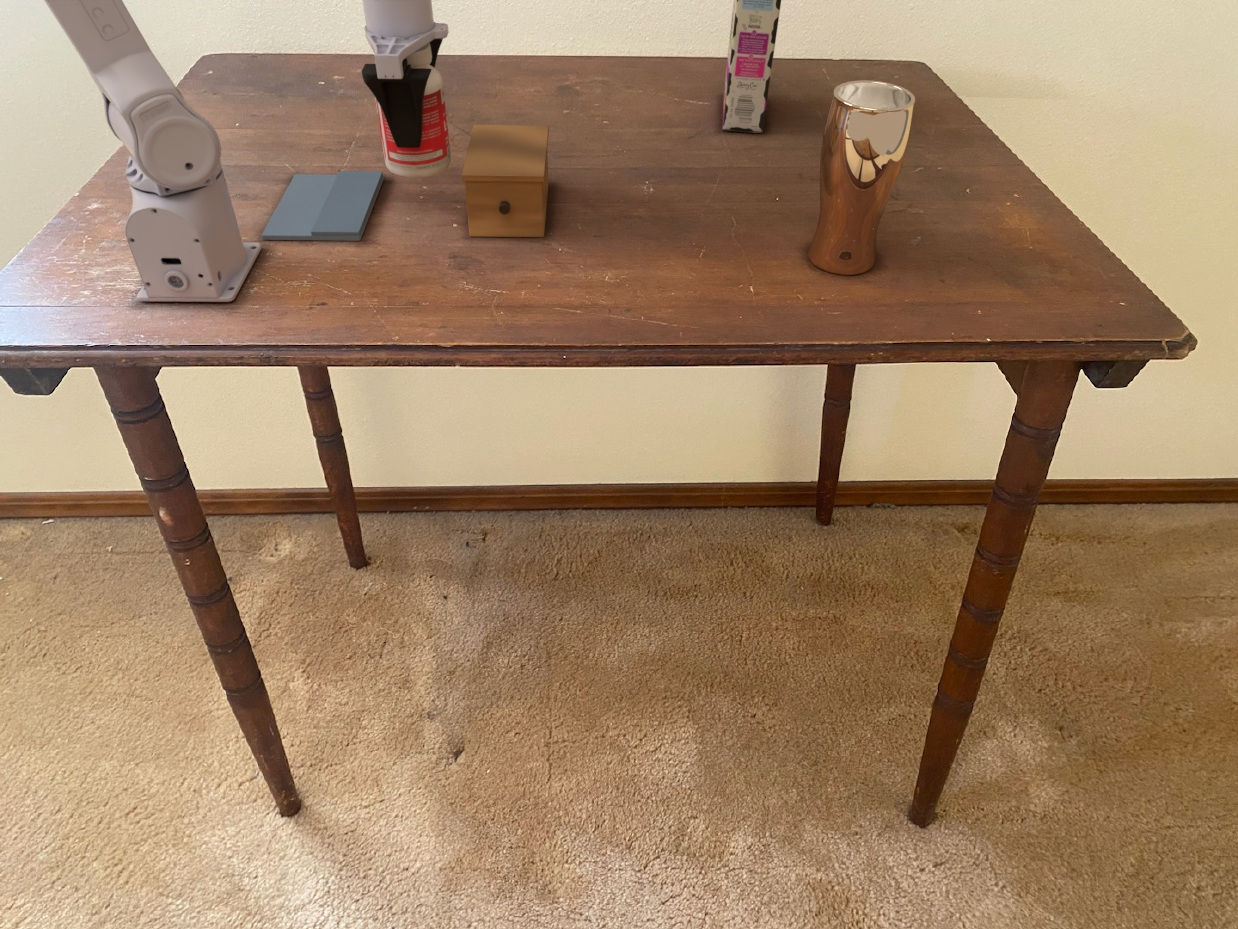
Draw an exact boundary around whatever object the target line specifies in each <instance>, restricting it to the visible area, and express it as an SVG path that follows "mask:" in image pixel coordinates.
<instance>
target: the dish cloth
mask: <svg viewBox="0 0 1238 929" xmlns="http://www.w3.org/2000/svg"><path fill="white" fill-rule="evenodd" d="M384 179H385V178H384V172H383V171H382V170H339V171H338V173H337V174H335V173H334V174H327V173H325V174H324V173H323V174H322V173H321V174H320V173H295V174H294V175H293V177H292V179H291V181H290V183H289V184H288V186H287V188H286V190H285V192H284V194H283V195H282V197H281V199H280V200H279V203H278V205H277V207H276V208H275V210H274V212H273V214H272V215H271V217H270V218H269V221H268V222H267V225H266V226H265V228H264V230H263V232H262V234H261V239H262V241H332V242H333V241H334V242H335V241H336V242H337V241H338V242H340V241H341V242H343V241H344V242H345V241H346V242H348V241H349V242H350V241H351V242H352V241H353V242H360V241H361V240H362V237H363V235H364V232H365V229H366V227H367V225H368V222H369V219H370V216H371V213H372V212H373V209H374V206H375V203H376V200H377V198H378V195H379V193H380V190H381V187H382V185H383V183H384Z"/></svg>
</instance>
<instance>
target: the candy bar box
mask: <svg viewBox="0 0 1238 929" xmlns="http://www.w3.org/2000/svg"><path fill="white" fill-rule="evenodd" d="M781 5H782V0H733V4H732V12H731V20H730V29H729V30H730V32H729V40H728V48H727V58H726V59H727V60H726V67H725V68H726V69H725V79H724V88H723V102H722V103H723V104H722V106H723V107H722V109H723V110H722V130H723V131H727V132H738V133H739V132H740V133H751V134H752V133H753V134H762V133H763V132H764V125H765V118H766V113H767V112H766V110H767V103H768V99H769V98H768V97H769V90H770V83H771V77H772V69H773V64H774V63H773V61H774V55H775V48H776V41H777V35H778V26H779V21H780V20H779V19H780V14H781V13H780V12H781Z"/></svg>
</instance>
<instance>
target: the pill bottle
mask: <svg viewBox="0 0 1238 929" xmlns="http://www.w3.org/2000/svg"><path fill="white" fill-rule="evenodd" d="M406 58H407V63H408V65H409V64H410V65H411V68H420V69H431V73H430V75H429V78H428V81H427V84H426V88H425V93H424V99H423V120H422V139H421V144H420V147H419V148H398V147H397V146H396V144H395V142H394V139H393V137H392V134H391V132H390V129H389V126H388V123H387V121H386V118H385V115H384V113H383V111H382V109H381V106H380V104H379V103H378V101H377V99H376V97H375V96H374V99H375V105H376V112H377V118H378V126H379V131H380V139H381V144H382V152H383V157H384V164H385V166H386V168H387V169H388V171H389V172H391V173H392V174H394V175H396V176H397V177H401V178H406V179H423V178H429V177H433V176H438V175H440V174H441V173H443V172H445V171H447V169H449V167H450V166H451V163H452V162H451V161H452V158H451V157H452V155H451V144H450V137H449V136H450V135H449V125H448V116H447V109H446V99H445V90H444V82H443V77H442V74H441V73H440V71H439V70H438V69H437V68H436V67H435V68H434V67H432V66H430V63H431V61H432V53H431V46H430V43H428V44H426V45H425V46H423V47H421V48H420V49H418V50H417V51H415V52H414V53H412V54H411V55H409V56H408V57H406Z"/></svg>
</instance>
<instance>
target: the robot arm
mask: <svg viewBox="0 0 1238 929" xmlns="http://www.w3.org/2000/svg"><path fill="white" fill-rule="evenodd" d="M43 1H44V3H46V5H47V7H48V8H49V10H50V12H51V13H52V15H53V16H54V19H56V21H57V23H58V24H59V26H60V28H61V29H62V30H63V32H64V34H65V35H66V36H67V38H68V40H69V41H70V43H71V45H72V46H73V47H74V49H75V51H76V52H77V54H78V55H79V57H80V59H81V60H82V61H83V63H84V65H85V66H86V69H87V71H88V73H89V75H90V76H91V79H92V80H93V81H94V83H95V84H96V87H97V88H98V90H99V92H100V94H101V96H102V100H103V106H104V116H105V120H106V123H107V125H108V128H109V130H110V131H111V132H112V134H113V135H114V136H115V137H116V139H118V140H119V142H121V143H122V144H123V145H124V146H125V148H126V149H127V151H128V152H129V153H130V154H129V156H128V161H127V164H126V169H125V176H126V179H127V183H128V186H129V188H130V192H131V197H132V198H131V199H132V200H131V201H132V206H131V210H130V213H129V215H128V217H127V219H126V222H125V226H124V227H125V229H124V233H125V234H124V235H125V238H126V242H127V244H128V247H129V249H130V252H131V255H132V258H133V260H134V263H135V266H136V268H137V271H138V275H139V277H140V279H141V282H142V287H141V288H140V289H139V291H138V293H137V294H136V298H137V300H138V301H139V302H169V303H170V302H171V303H173V302H174V303H175V302H177V303H179V302H180V303H181V302H189V303H193V302H194V303H195V302H196V303H230V302H233V301H234V300H235V299H236V298H237V295H238V294H239V291H240V289H241V288H242V286H243V284H244V282H245V281H246V278H247V276H248V275H249V273H250V271H251V269H252V267H253V266H254V264H255V262H256V260H257V258H258V257H259V254H260V252H261V250H262V248H263V247H262V244H261V243H260V242H256V241H255V242H253V241H251V242H249V241H247V242H244V241H243V237H242V234H241V231H240V228H239V224H238V220H237V216H236V213H235V210H234V206H233V201H232V199H231V196H230V192H229V188H228V184H227V181H226V176H225V172H224V170H223V167H222V162H221V157H222V145H221V139H220V138H219V133H218V132H217V130H216V129H215V127H214V126H213V124H212V123H211V122H210V121H209V120H208V119H207V118H206V117H204V116H203V115H202V114H200V113H199V112H197V110H196V109H194V108H193V106H192V105H191V104H190V103H189V102H188V101H187V100H186V99H185V97H184V96H183V94H182V93H181V92H180V90H179V89H178V88H177V87H176V85H175V84H174V82H173V81H172V79H171V77H170V76H169V75H168V73H167V72H166V70H165V68H164V67H163V66H162V65H161V63H160V61H159V60H158V58H157V57H156V56H155V53H153V51H152V49H151V48H150V46H149V44H148V43H147V40H146V39H145V38H144V36H143V34H142V32H141V31H140V29H139V27H138V25H137V23H136V22H135V20H134V18H133V16H132V15H131V13H130V11H129V9H128V8H127V6H126V5H125V3H124V1H123V0H43ZM362 6H363V13H364V21H365V26H364V36H365V39H366V41H367V42H368V45H369V46H370V48H371V50H372V52H373V53H374V56H373V57H374V62H375V63H365V64H364V65H363V67H362V69H361V76H362V80H363V82H364V84H365V85H366V86H367V88H368V89H369V90H370V92H372V94H373V97H374V98H375V97H376V99H377V101H378V103H379V104H380V106H381V109H382V111H383V113H384V115H385V118H386V121H387V123H388V126H389V129H390V132H391V134H392V137H393V139H394V142H395V144H396V146H397V147H398V148H419V147H420V144H421V139H422V120H423V99H424V93H425V88H426V84H427V81H428V78H429V75H430V73H431V69H420V68H411V65H410V64H409V65H408V63H407V58H406V57H408V56H409V55H411V54H412V53H414V52H415V51H417V50H418V49H420V48H421V47H423V46H425V45H426V44H428V43H430V46H431V53H432V61H431V63H430V66H432V67H434V68H435V69H436V65H437V64H436V63H437V58H438V54H439V52H440V48H441V45H442V43H443V40H444V39H446V38H448V36H449V24H447V23H444V22H435V20H434V11H433V1H432V0H362Z"/></svg>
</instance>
